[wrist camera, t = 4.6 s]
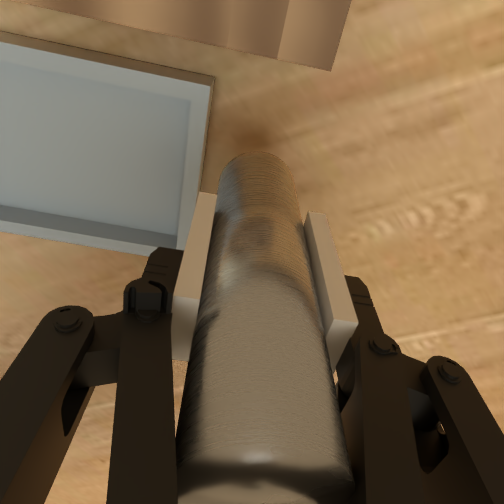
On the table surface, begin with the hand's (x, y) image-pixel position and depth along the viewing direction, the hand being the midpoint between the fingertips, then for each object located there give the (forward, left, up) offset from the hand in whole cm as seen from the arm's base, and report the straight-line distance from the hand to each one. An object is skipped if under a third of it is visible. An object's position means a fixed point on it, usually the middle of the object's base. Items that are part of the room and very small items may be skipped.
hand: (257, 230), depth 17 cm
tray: (-12, -3, -12) cm, 17 cm away
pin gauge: (0, 0, -4) cm, 4 cm away
